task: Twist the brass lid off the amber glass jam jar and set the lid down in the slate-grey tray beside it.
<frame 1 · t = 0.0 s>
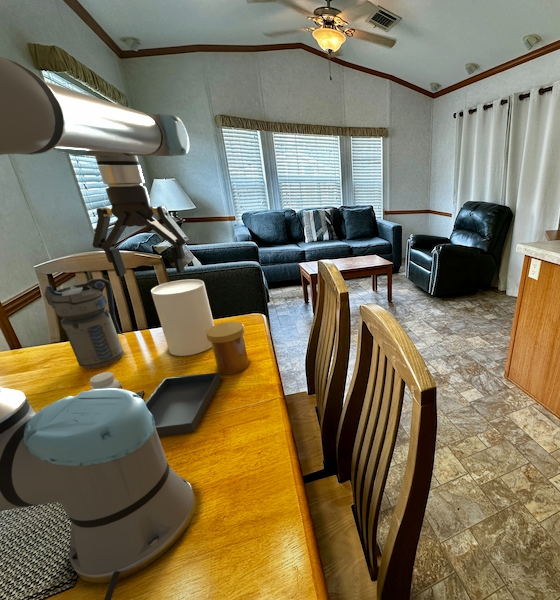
hand: (151, 273, 84), 28 cm above the table, tool pointing down, fingers open, 13 cm apart
beverage bottle: (107, 360, 97), on the table
canister: (194, 345, 106), on the table
tray: (179, 406, 78), on the table
pill bottle: (115, 412, 76), on the table
lid: (225, 330, 90), point 12 cm above the table, screwed on, not yet turned
jar: (233, 366, 94), on the table
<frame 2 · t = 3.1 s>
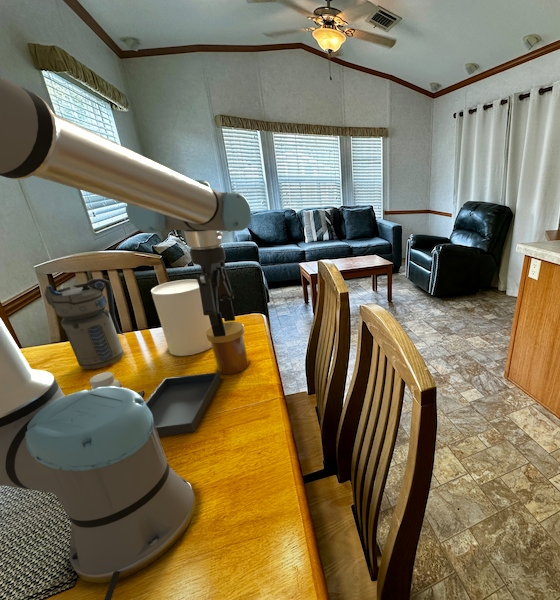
hand: (225, 327, 89), 12 cm above the table, tool pointing down
lid: (225, 330, 90), point 12 cm above the table, screwed on, not yet turned, touching gripper
everything else where it was.
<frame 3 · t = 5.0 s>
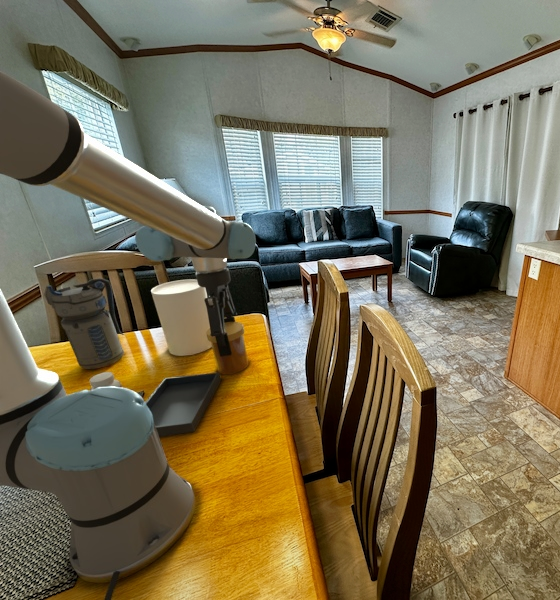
hand: (230, 346, 91), 7 cm above the table, tool pointing down, fingers closed on lid, 9 cm apart
lid: (225, 330, 90), point 12 cm above the table, screwed on, not yet turned, touching gripper
everything else where it was.
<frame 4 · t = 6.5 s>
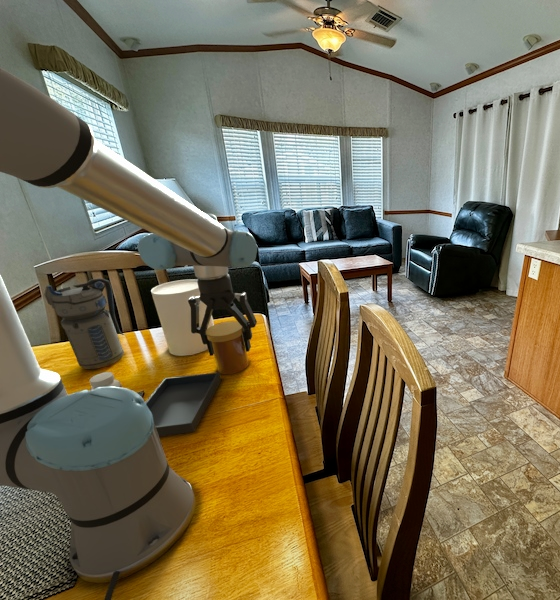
hand: (230, 351, 92), 5 cm above the table, tool pointing down, fingers closed on lid, 9 cm apart
lid: (225, 329, 89), point 12 cm above the table, turned 89° so far, risen 0.2 cm, still on its thread, touching gripper
everything else where it was.
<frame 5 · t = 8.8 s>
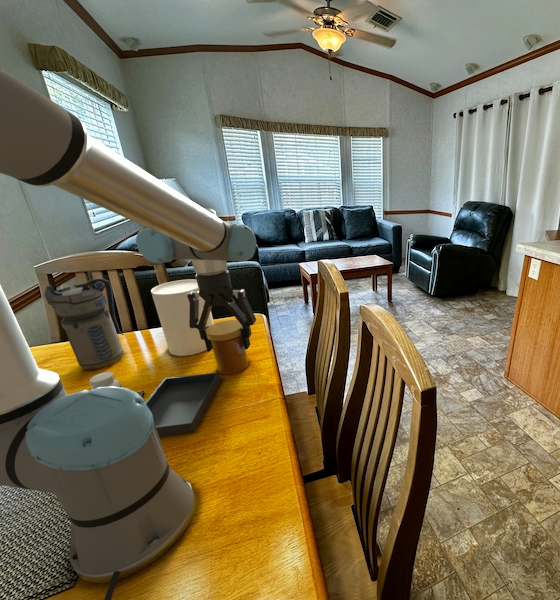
hand: (229, 348, 92), 6 cm above the table, tool pointing down, fingers closed on lid, 9 cm apart
lid: (224, 328, 89), point 12 cm above the table, off its thread, touching gripper
everything else where it was.
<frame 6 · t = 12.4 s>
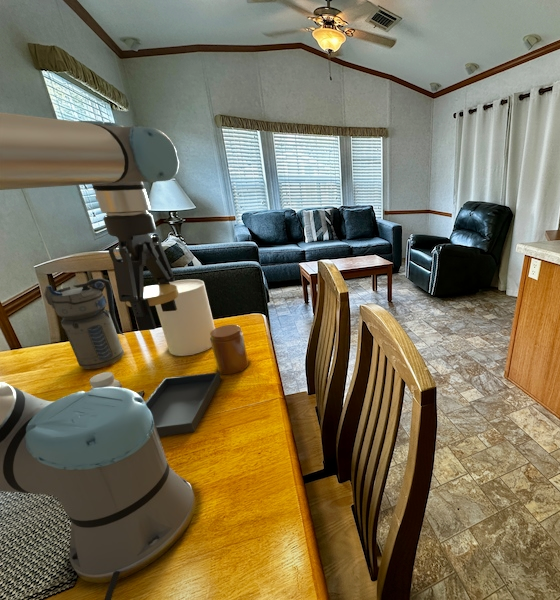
hand: (159, 319, 71), 22 cm above the table, tool pointing down, fingers closed on lid, 9 cm apart
lid: (151, 292, 69), point 28 cm above the table, off its thread, touching gripper
everything else where it was.
when the fingers open (2 cm above the table, at t = 17.1 s): lid drops 6 cm, resting on tray.
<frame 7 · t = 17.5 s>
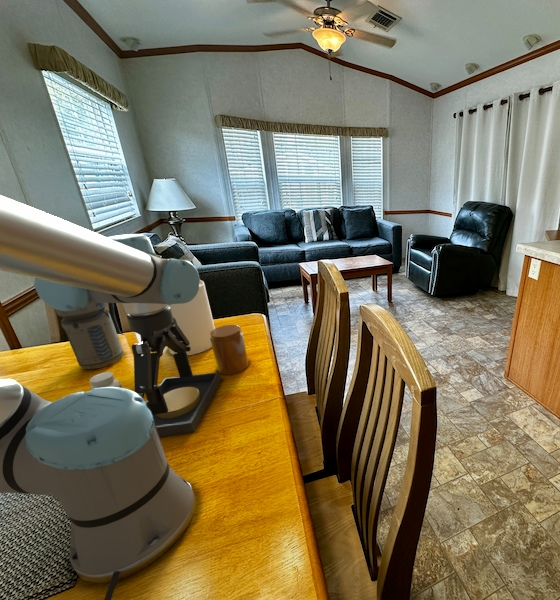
hand: (174, 393, 76), 4 cm above the table, tool pointing down, fingers open, 13 cm apart
lid: (177, 400, 77), point 2 cm above the table, off its thread, touching tray
everything else where it was.
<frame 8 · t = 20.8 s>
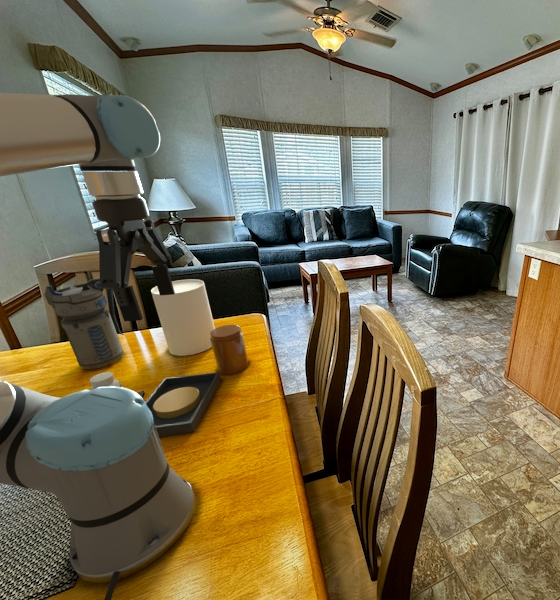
hand: (152, 306, 66), 27 cm above the table, tool pointing down, fingers open, 13 cm apart
nothing on the table moved.
at the end: lid came off its thread; lid inside the target area in the tray (0.0 cm from its centre), point 1.9 cm above the tray's base; the gripper is holding nothing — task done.
